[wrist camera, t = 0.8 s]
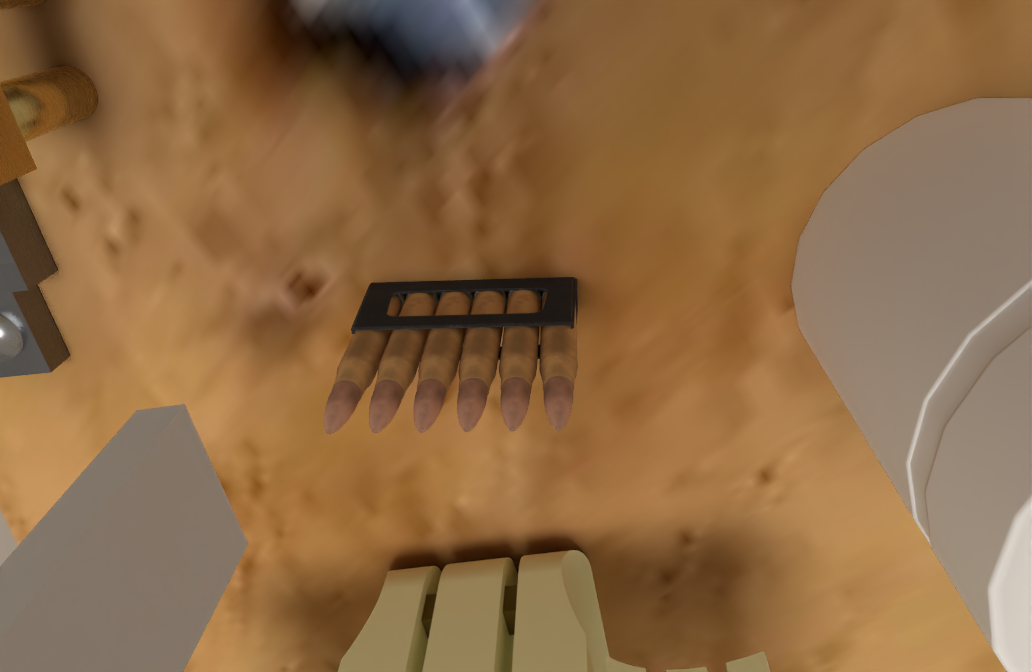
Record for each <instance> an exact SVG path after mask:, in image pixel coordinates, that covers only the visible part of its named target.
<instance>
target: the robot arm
mask: <svg viewBox="0 0 1032 672" xmlns="http://www.w3.org/2000/svg"><path fill="white" fill-rule="evenodd" d="M247 545H248V542H247V540H246V538H245V536H244V533H243V531H242V529H241V527H240V525H239V522H238V520H237V518H236V516H235V514H234V512H233V509H232V507H231V505H230V503H229V501H228V498H227V496H226V494H225V492H224V490H223V487H222V485H221V483H220V481H219V479H218V477H217V474H216V472H215V470H214V468H213V466H212V463H211V461H210V459H209V457H208V455H207V452H206V450H205V448H204V446H203V444H202V441H201V439H200V437H199V435H198V433H197V431H196V428H195V426H194V424H193V422H192V420H191V417H190V415H189V413H188V411H187V409H186V406H185V404H182V405H175V406H167V407H159V408H152V409H144V410H137V411H136V412H135V413H134V414H133V415H132V416H131V418H130V419H129V420H128V421H127V422H126V423H125V424H124V426H123V427H122V428H121V429H120V430H119V431H118V432H117V434H116V435H115V436H114V437H113V438H112V439H111V440H110V442H109V443H108V444H107V445H106V446H105V447H104V448H103V450H102V451H101V452H100V453H99V454H98V455H97V456H96V458H95V459H94V460H93V461H92V462H91V463H90V464H89V466H88V467H87V468H86V469H85V470H84V471H83V472H82V474H81V475H80V476H79V477H78V478H77V479H76V480H75V482H74V483H73V484H72V485H71V486H70V487H69V488H68V490H67V491H66V492H65V493H64V494H63V495H62V496H61V498H60V499H59V500H58V501H57V502H56V503H55V504H54V506H53V507H52V508H51V509H50V510H49V511H48V512H47V514H46V515H45V516H44V517H43V518H42V519H41V520H40V522H39V523H38V524H37V525H36V526H35V527H34V528H33V530H32V531H31V532H30V533H29V534H28V535H27V536H26V538H25V539H24V540H23V541H22V542H21V543H20V544H19V546H18V547H17V548H16V549H15V550H14V551H13V552H12V554H11V555H10V556H9V557H8V558H7V559H6V560H5V562H4V563H3V564H2V565H1V566H0V672H184V670H185V668H186V666H187V664H188V662H189V660H190V658H191V656H192V654H193V652H194V650H195V648H196V646H197V644H198V642H199V640H200V638H201V636H202V634H203V632H204V630H205V628H206V626H207V624H208V622H209V620H210V618H211V616H212V614H213V612H214V610H215V608H216V606H217V604H218V602H219V600H220V598H221V596H222V594H223V592H224V591H225V589H226V587H227V585H228V583H229V581H230V579H231V577H232V575H233V573H234V571H235V569H236V567H237V565H238V563H239V561H240V559H241V557H242V555H243V553H244V551H245V549H246V547H247Z"/></svg>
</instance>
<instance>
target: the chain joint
mask: <svg viewBox="0 0 1032 672" xmlns="http://www.w3.org/2000/svg"><path fill="white" fill-rule="evenodd" d="M56 271H58V270H57V267H56V265H55V263H54V261H53V259H52V256H51V254H50V252H49V250H48V247H47V245H46V243H45V241H44V239H43V236H42V234H41V232H40V230H39V227H38V225H37V223H36V221H35V219H34V216H33V214H32V212H31V210H30V208H29V205H28V203H27V201H26V199H25V196H24V194H23V192H22V190H21V188H20V185H19V183H18V181H17V179H14V180H11V181H9V182H7V183H5V184H3V185H0V377H9V376H19V375H29V374H39V373H49V372H52V371H53V370H54V369H55V368H57V367H58V366H59V365H60V364H61V363H62V362H64V361H65V360H66V359H67V358H68V357H69V356H70V354H69V352H68V350H67V348H66V346H65V344H64V342H63V339H62V337H61V335H60V333H59V331H58V329H57V327H56V325H55V322H54V320H53V318H52V316H51V314H50V312H49V310H48V307H47V305H46V303H45V301H44V299H43V297H42V295H41V293H40V290H39V288H38V286H37V284H39V283H40V282H41V281H43V280H44V279H46V278H47V277H49V276H50V275H52V274H53V273H55V272H56Z"/></svg>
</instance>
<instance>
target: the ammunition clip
mask: <svg viewBox="0 0 1032 672" xmlns="http://www.w3.org/2000/svg"><path fill="white" fill-rule="evenodd" d="M576 324H577V279H575V278H573V277H561V278H526V279H491V280H456V281H421V282H385V283H371V284H370V285H369V288H368V290H367V292H366V295H365V297H364V299H363V302H362V304H361V306H360V309H359V311H358V314H357V316H356V318H355V321H354V323H353V325H352V328H351V331H352V334H354V335H353V337H352V340H351V342H350V344H349V346H348V348H347V350H346V352H345V354H344V356H343V358H342V360H341V362H340V364H339V366H338V369H337V376H336V380H335V383H334V385H333V388H332V392H331V394H330V396H329V398H328V401H327V405H326V408H325V415H324V427H325V430H326V433H328V434H332V433H334V432H336V431H337V430H339V429H340V428H341V427H342V426H343V425H344V424H345V423H346V422H347V421H348V419H349V418H350V416H351V415H352V413H353V412H354V410H355V408H356V406H357V404H358V402H359V400H360V399H361V397H362V395H363V393H364V391H365V390H366V389H367V388H368V387H369V386H370V384H371V383H372V381H373V379H374V377H375V375H376V373H377V370H378V378H377V381H376V384H375V390H374V392H373V395H372V398H371V403H370V408H369V425H370V428H371V431H372V432H373V433H378V432H380V431H381V430H383V429H384V428H385V427H386V426H387V425H388V424H389V423H390V421H391V420H392V418H393V417H394V415H395V413H396V411H397V410H398V408H399V406H400V403H401V400H402V398H403V397H404V394H405V392H406V390H407V388H408V387H409V386H410V384H411V383H412V381H413V379H414V377H415V375H416V372H417V369H418V366H419V381H418V385H417V392H416V395H415V401H414V422H415V426H416V428H417V430H418V431H419V432H420V433H422V432H425V431H426V430H427V429H429V428H430V427H431V425H432V424H433V423H434V421H435V420H436V418H437V417H438V415H439V413H440V411H441V408H442V406H443V403H444V400H445V397H446V395H447V392H448V389H449V386H450V385H451V383H452V382H453V380H454V378H455V376H456V372H457V368H458V364H459V360H460V364H459V378H460V383H459V393H458V400H457V413H458V419H459V423H460V425H461V428H462V429H463V430H464V431H465V432H469V431H470V430H471V429H473V428H474V427H475V425H476V424H477V422H478V421H479V419H480V417H481V415H482V413H483V411H484V408H485V405H486V400H487V395H488V394H489V389H490V385H491V383H492V381H493V380H494V378H495V375H496V369H497V363H498V360H500V365H499V373H500V377H501V411H502V416H503V419H504V422H505V425H506V426H507V428H508V429H509V430H510V431H515V430H516V429H517V428H518V427H519V426H520V425H521V423H522V421H523V419H524V417H525V415H526V413H527V409H528V405H529V399H530V393H531V387H532V383H533V380H534V378H535V376H536V370H537V359H540V373H541V377H542V380H543V390H544V403H545V409H546V413H547V416H548V419H549V421H550V423H551V425H552V426H553V427H554V429H556V430H557V431H560V430H561V429H562V428H563V427H564V426H565V425H566V423H567V421H568V419H569V416H570V413H571V409H572V403H573V390H574V380H575V378H576V374H577V368H578V364H577V332H576ZM539 326H541V340H540V345H538V341H539ZM503 327H504V334H503V342H502V347H500V343H501V337H502V330H503ZM466 331H467V332H466ZM465 335H466V336H465ZM464 339H465V341H464ZM463 343H464V346H463ZM462 347H463V348H462ZM419 363H420V365H419Z"/></svg>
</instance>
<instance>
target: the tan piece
mask: <svg viewBox="0 0 1032 672" xmlns="http://www.w3.org/2000/svg"><path fill="white" fill-rule="evenodd" d="M45 1H46V0H0V10H5V9H12V8H19V7H27V6H34V5H39V4H42V3H44V2H45ZM97 101H98V98H97V92H96V89H95V87H94V85H93V83H92V82H91V80H90V79H89V78H88V77H87V76H86V75H85V74H84V73H83V72H81V71H80V70H78V69H76V68H73V67H70V66H59V67H55V68H52V69H48V70H44V71H40V72H37V73H33V74H29V75H26V76H22V77H18V78H14V79H11V80H7V81H3V82H0V185H3V184H5V183H7V182H9V181H11V180H14V179H16V178H18V177H20V176H23V175H25V174H27V173H29V172H31V171H34V170H36V169H37V168H36V165H35V163H34V161H33V158H32V156H31V154H30V152H29V149H28V147H27V145H26V142H25V141H28V140H31V139H33V138H36V137H38V136H41V135H43V134H46V133H48V132H51V131H53V130H56V129H59V128H61V127H64V126H66V125H69V124H71V123H74V122H76V121H79V120H82V119H84V118H87V117H89V116H90V115H91V114H93V112H94V111H95V109H96V107H97Z"/></svg>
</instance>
